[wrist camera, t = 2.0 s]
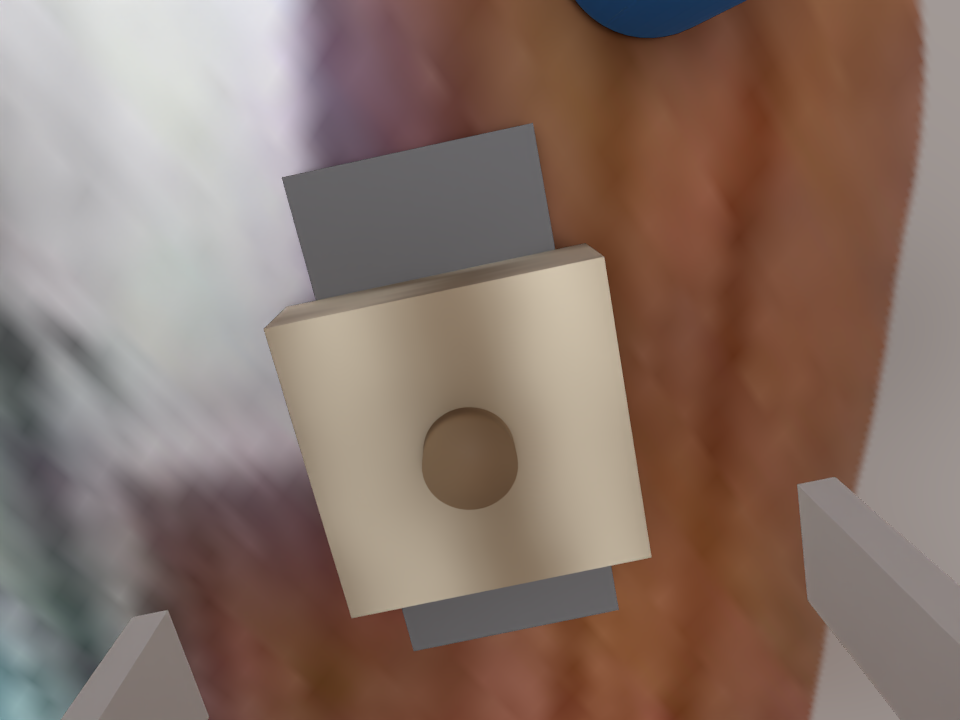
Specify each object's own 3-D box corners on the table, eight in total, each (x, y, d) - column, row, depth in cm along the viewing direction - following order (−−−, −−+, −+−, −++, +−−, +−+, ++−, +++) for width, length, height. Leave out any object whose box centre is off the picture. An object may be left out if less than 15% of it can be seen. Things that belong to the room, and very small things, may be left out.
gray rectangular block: (416, 611, 30) (413, 651, 28) (297, 174, 25) (281, 177, 23) (605, 572, 30) (618, 609, 27) (524, 125, 25) (532, 122, 22)
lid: (362, 567, 27) (346, 642, 22) (286, 306, 24) (252, 339, 20) (629, 512, 26) (662, 578, 22) (585, 243, 23) (613, 263, 19)
